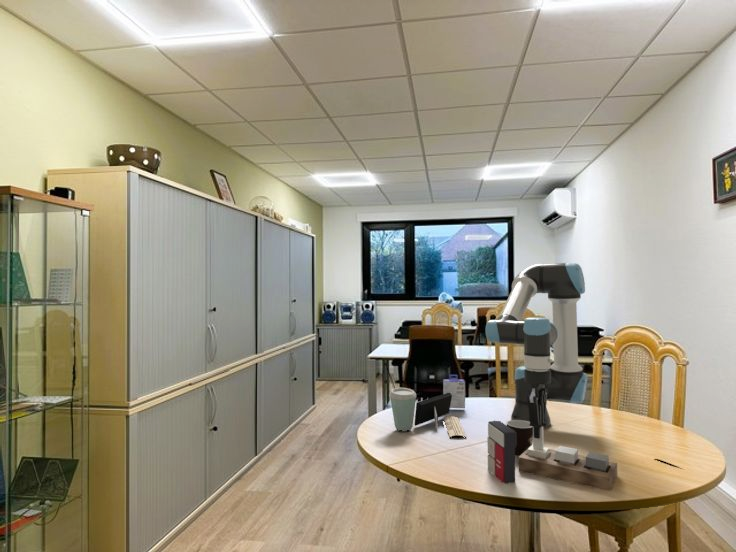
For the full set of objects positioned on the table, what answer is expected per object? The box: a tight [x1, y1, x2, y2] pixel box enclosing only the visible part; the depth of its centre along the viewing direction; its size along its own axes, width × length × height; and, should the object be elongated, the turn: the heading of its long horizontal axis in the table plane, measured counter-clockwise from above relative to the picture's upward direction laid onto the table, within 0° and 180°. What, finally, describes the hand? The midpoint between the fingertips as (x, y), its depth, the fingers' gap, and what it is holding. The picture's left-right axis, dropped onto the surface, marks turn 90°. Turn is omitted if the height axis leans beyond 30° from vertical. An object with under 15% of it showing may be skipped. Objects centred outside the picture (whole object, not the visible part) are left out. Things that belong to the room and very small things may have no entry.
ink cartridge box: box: [442, 374, 466, 409], centre depth 205 cm, size 10×6×14 cm, turn 83°
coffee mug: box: [506, 419, 533, 457], centre depth 149 cm, size 12×9×10 cm
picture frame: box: [413, 393, 452, 429], centre depth 186 cm, size 22×10×10 cm
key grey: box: [555, 445, 579, 466], centre depth 130 cm, size 5×5×5 cm
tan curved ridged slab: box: [443, 415, 467, 439], centre depth 176 cm, size 24×7×2 cm, turn 176°
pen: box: [653, 458, 685, 470], centre depth 135 cm, size 2×14×2 cm, turn 19°
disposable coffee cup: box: [388, 387, 417, 432], centre depth 175 cm, size 11×11×15 cm
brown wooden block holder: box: [518, 448, 618, 492], centre depth 130 cm, size 24×12×5 cm, turn 53°
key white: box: [527, 444, 550, 459], centre depth 135 cm, size 5×5×5 cm
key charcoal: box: [585, 451, 610, 473], centre depth 125 cm, size 5×5×5 cm
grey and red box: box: [487, 420, 517, 484], centre depth 130 cm, size 11×4×15 cm, turn 9°
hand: (538, 447), depth 135 cm, fingers closed
